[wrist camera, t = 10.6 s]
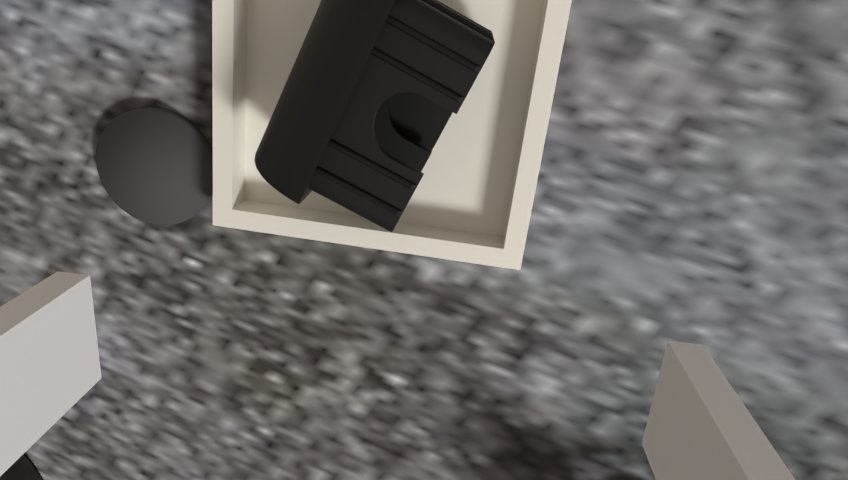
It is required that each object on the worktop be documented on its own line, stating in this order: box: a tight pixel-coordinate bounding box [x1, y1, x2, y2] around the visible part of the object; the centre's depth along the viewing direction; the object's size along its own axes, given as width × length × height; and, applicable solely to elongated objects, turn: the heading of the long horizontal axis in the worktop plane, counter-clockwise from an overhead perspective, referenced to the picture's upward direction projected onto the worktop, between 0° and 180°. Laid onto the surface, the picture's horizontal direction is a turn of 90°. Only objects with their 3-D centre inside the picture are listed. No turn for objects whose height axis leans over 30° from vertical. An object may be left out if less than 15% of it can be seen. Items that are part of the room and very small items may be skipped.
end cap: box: [254, 0, 495, 232], centre depth 27 cm, size 10×7×7 cm
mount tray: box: [212, 0, 572, 270], centre depth 30 cm, size 16×16×2 cm
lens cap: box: [96, 107, 213, 225], centre depth 34 cm, size 6×6×1 cm
